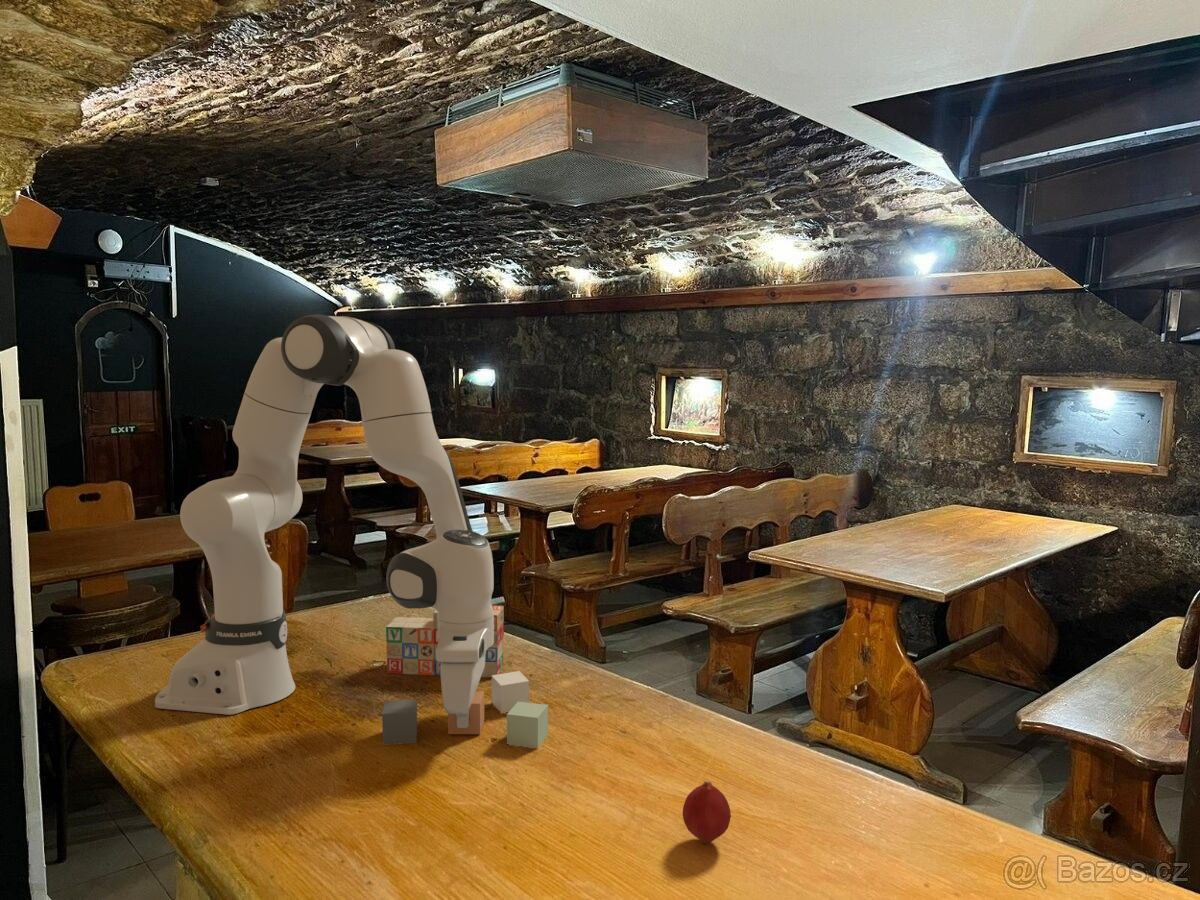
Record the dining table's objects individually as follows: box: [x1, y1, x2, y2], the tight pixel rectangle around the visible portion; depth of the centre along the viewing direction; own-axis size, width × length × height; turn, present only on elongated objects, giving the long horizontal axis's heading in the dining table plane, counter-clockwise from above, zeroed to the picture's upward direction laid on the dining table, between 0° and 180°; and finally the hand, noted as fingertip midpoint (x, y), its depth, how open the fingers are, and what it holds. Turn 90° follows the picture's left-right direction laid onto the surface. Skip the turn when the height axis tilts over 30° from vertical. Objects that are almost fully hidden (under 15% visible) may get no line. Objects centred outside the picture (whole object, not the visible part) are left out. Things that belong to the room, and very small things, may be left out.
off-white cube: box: [491, 670, 530, 714], centre depth 143 cm, size 5×5×5 cm
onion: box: [682, 779, 732, 845], centre depth 102 cm, size 6×6×8 cm
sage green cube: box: [506, 702, 549, 749], centre depth 130 cm, size 5×5×5 cm
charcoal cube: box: [381, 698, 418, 746], centre depth 131 cm, size 5×5×5 cm
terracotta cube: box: [447, 690, 485, 735], centre depth 134 cm, size 5×5×5 cm
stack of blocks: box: [385, 605, 505, 678], centre depth 159 cm, size 21×6×12 cm, turn 86°
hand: (466, 717), depth 134 cm, fingers closed on terracotta cube, 5 cm apart
